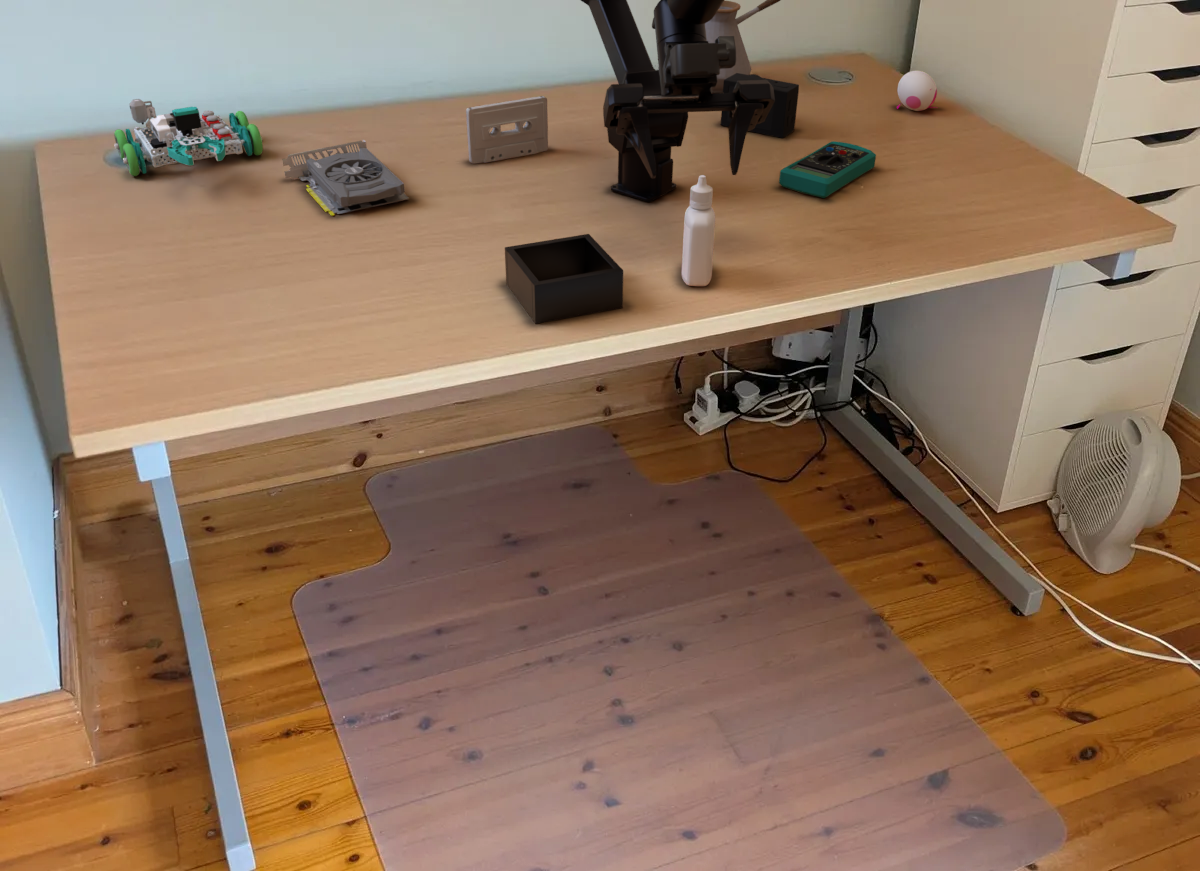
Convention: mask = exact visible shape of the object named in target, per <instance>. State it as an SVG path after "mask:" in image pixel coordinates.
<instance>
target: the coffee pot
mask: <svg viewBox="0 0 1200 871" xmlns="http://www.w3.org/2000/svg"><path fill="white" fill-rule="evenodd" d="M780 1H781V0H765V1H763V2H762V3H760V4H758V5H757V6H756V7H754V8H753V9H751V10H749V11H747V12H746V13H744V14H741V15H740V16H738V17H737V15H738V11H739V10H740V9H741V4H740V3H738V2H736V1H731V0H724V2H723V3H722V5H721V6H720V8H719V10H718V11H717V13H716V14H715V16H714V17H713V18H712V19H711V20H710V21H708V22H707V23H705V29H706V38H707V41H708V43H715V39H717V38H718V37H719V36H734V39H735V46H736V64H735V66H733V67H732V68H724V69H720V74H719V75H717V84H716V86H715V87H712V93H723V84H724V80H725V79H727V78H728V77H730V76H732V75H734V74H736V73H740V74H745V75H750V74H752V73H751V72H752V66H751V63H750V60H749V56H748V54H747V50H746V47H745V45H744V41H743V37H742V34H741V32H740V29H739V26H738V25H740V24H741V23H743V22H744V21H747V20H748V19H749V18H752V16H754V15H755V14H757V13H759V12H761V11H764V10H765V9H767V8H769V7H771V6H773V5H775V4H777V3H779V2H780Z"/></svg>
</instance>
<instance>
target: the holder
mask: <svg viewBox="0 0 1200 871" xmlns="http://www.w3.org/2000/svg"><path fill="white" fill-rule="evenodd" d="M504 263H505V264H504V265H505V266H504V267H505V284H506V286H507V287H508V288H509V290H510V291H511V292H512V294H513V295H514V296H515V298H516V299H517V300H518V302H519V303H520V305H521V306H522V307H523V308H524V310H525V311H526V313H527V314H528V315H529V317H530V318H531V319H532V321H533V322H534V324H535V325H537V324H541V323H547V322H553V321H558V320H563V319H570V318H575V317H580V316H585V315H590V314H597V313H601V312H607V311H613V310H619V309H623V307H624V306H623V305H624V303H623V302H624V269H623V268H622V267H621V266H620V265H619V264H618V263H617V262H616V261H615V260H614V259H613V257H611V255H609V253H607V251H606V250H605V249H604V248H603V247H602V246H601V245H600V244H599V243H598V242H597V240H595V238H594V237H593V236H592V235H590V234H589V233H584V234H577V235H572V236H567V237H560V238H554V239H547V240H542V241H535V242H530V243H523V244H517V245H511V246H505V247H504Z"/></svg>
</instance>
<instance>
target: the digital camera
mask: <svg viewBox="0 0 1200 871" xmlns="http://www.w3.org/2000/svg"><path fill="white" fill-rule="evenodd" d="M747 80H767V81H768V82H769V83H770V84H771V85H772V87H773V89H774V98H775V102H774V104H773V106H772V108H771V109H770V111H769V113H768V115H767V117H766V119H765V121H764V122H762V123H759V124H756V126H755V128H754V129H753V130H748V131H747V132H751V133H756V134H762V135H766V136H770V137H775V138H781V139H784V138H785V137H787V136H789V134H791V133H793V132H794V131H795V126H796V118H797V111H798V110H797V108H798V100H799V90H800V84H798V83H793V82H787V81H782V80H777V79H771V78H767V77H762V76H760V75H759V74H755V73H750V75H745V74H740V73H736V74H734V75H732V76H730V77H728V78H727V79H725V80H724V84H723V92H722V93H733V90H734V88H735V86H736V83H737V81H747ZM720 113H721V117H720V126H724V127H728V128H729V125H730V123H731V121H732V120H731V119H730V115H729V111H721V112H720Z"/></svg>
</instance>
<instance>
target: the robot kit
mask: <svg viewBox="0 0 1200 871" xmlns="http://www.w3.org/2000/svg"><path fill="white" fill-rule="evenodd" d="M128 105H129V109H130V114H131V118H132V120H133V121H134V122H135V123H137V124H141V125H142V126H143V125H144V124H145V127H140V126H135V127H134V128H133V132H134V133H133V134H134V136H135V139H134V138H133V137H134V136H133V134H132V132H131V129H130V128H125V131H124V130H123V129H118V128H117V129H116V130H114V133H113V134H114V140H115V143H113V145H114V149H115V150H117V152H118V155H119V157H120V159H121V160H122V162H123V164H124V165H126V168H127V170H128V172H129V174H130V175H131V176H133V177H137V176H139V175H140V173H142V174H147V167H146V166H147V165H146V162H145V160H146V161H147V162H148V163H151V164H152V167H153V168H160V167H162V166H168V165H174V164H183V165H186V166H188V167H189V166H195V161H198V160H202V159H203V160H204V159H209V158H215V160H216V162H221V161H223V160H224V158H225V157H226V155H233V154H236V155H240V154H243V152H244V151H245V154H246V155H247V157H251V156H252V155H254V156H260V155H261V154H262V153H263V151H264V147H263V146H264V145H263V137H262V135H261V133H260V129H259V128H258V126H257V124H255V123H250V122H249V120H248V117H247V114H246V113H245V112H244V111H242V110H238V111H236V112H235V113H234V112H230V113H229V114H228V119H229V121H228V122H229V124H227V123H226V122H225V120H223V118H222V117H221V116H220V115H215V112H214V111H213V110H204V111H203V112H202V114H201V116H200V111H199V108H198V107H197V106H187V107H181V108H175V109H172V110H171V112H170V113H165V114H158V115H157V113H156V109H155V107H154V106H153V102H152V101H151V100H145V101H144V100H142V99H140V98H134V99H132V100H130V103H129V104H128ZM243 148H244V149H243ZM243 150H244V151H243Z"/></svg>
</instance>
